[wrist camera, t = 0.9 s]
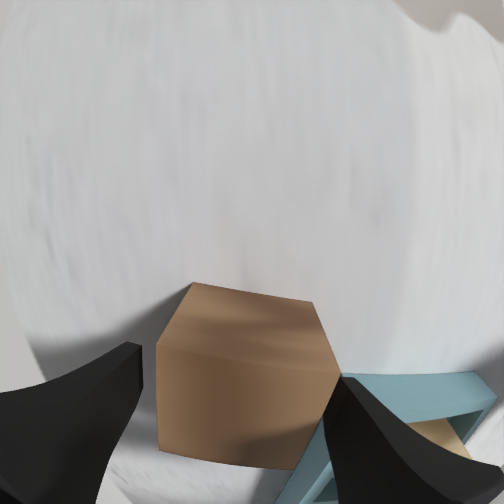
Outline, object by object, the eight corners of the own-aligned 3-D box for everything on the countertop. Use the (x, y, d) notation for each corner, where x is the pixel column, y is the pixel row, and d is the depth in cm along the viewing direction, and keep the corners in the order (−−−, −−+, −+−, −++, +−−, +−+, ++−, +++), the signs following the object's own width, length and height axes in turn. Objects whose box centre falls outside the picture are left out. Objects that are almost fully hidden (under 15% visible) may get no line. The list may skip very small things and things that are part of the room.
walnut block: (311, 301, 12) (341, 372, 7) (285, 390, 13) (293, 469, 8) (194, 281, 12) (155, 344, 7) (185, 374, 13) (158, 450, 8)
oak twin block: (440, 410, 12) (476, 465, 8) (404, 460, 14) (426, 511, 9) (374, 416, 12) (403, 487, 7) (341, 467, 14) (355, 529, 9)
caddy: (474, 371, 13) (498, 396, 10) (366, 509, 17) (372, 531, 14) (341, 373, 13) (357, 414, 10) (266, 515, 17) (266, 541, 14)
